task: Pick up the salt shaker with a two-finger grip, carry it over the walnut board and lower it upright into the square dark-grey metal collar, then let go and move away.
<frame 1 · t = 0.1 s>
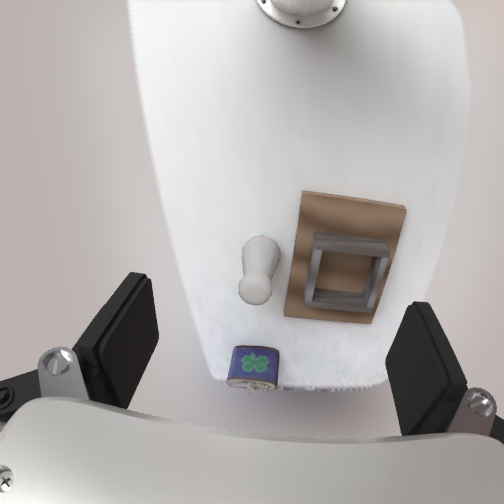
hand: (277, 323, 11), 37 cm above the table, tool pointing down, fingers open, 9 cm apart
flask: (256, 350, 62), on the table
holder board: (341, 262, 51), on the table
salt shaker: (262, 246, 51), on the table
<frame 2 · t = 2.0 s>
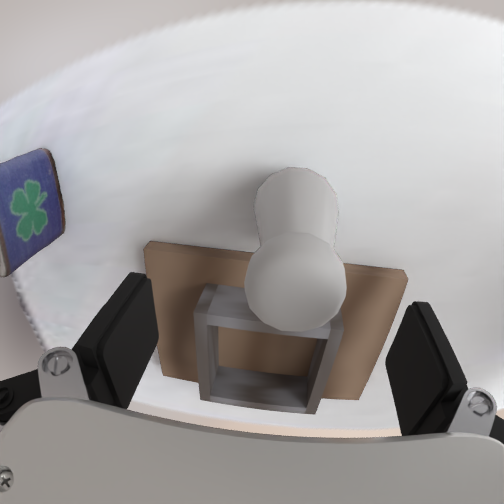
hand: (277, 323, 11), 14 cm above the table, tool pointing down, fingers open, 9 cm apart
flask: (52, 192, 26), on the table
holder board: (268, 329, 30), on the table
salt shaker: (296, 197, 24), on the table
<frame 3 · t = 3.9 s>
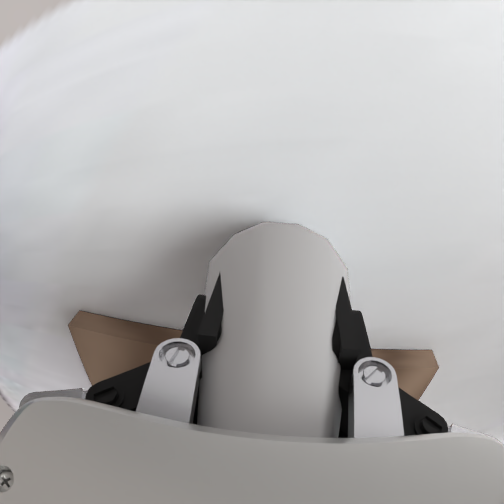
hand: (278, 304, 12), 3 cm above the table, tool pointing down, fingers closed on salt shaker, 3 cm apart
holder board: (245, 416, 21), on the table
salt shaker: (279, 260, 15), on the table, touching gripper
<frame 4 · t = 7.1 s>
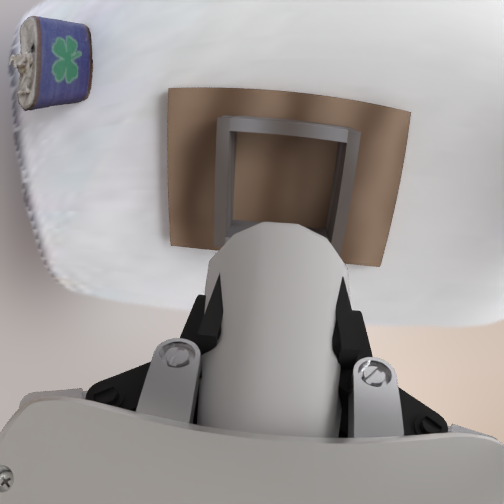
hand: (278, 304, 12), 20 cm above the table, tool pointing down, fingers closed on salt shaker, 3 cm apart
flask: (83, 62, 26), on the table
holder board: (284, 175, 30), on the table
salt shaker: (279, 260, 15), point 17 cm above the table, touching gripper
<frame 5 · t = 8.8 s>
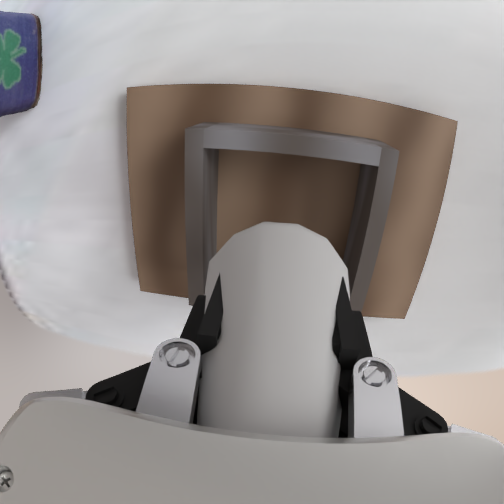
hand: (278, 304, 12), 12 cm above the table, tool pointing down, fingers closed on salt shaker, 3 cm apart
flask: (32, 60, 18), on the table
holder board: (285, 203, 22), on the table
salt shaker: (279, 260, 15), point 8 cm above the table, touching gripper
when the fingers open (7 cm above the table, at t = 10.3 s): salt shaker drops 2 cm, resting on holder board.
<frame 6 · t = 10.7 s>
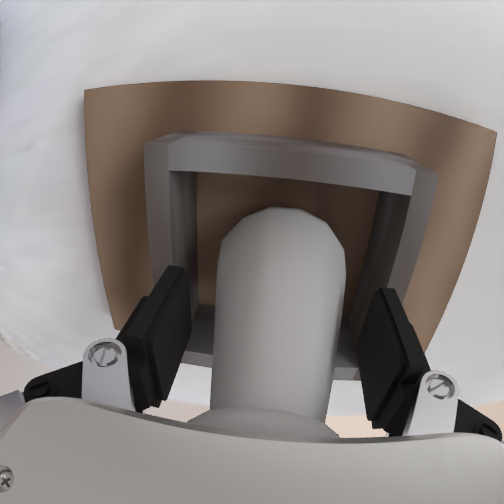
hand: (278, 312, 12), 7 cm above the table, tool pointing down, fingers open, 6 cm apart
holder board: (282, 232, 18), on the table
salt shaker: (284, 241, 17), point 1 cm above the table, touching holder board
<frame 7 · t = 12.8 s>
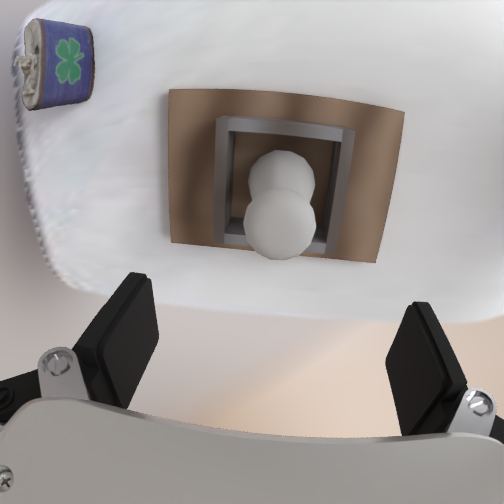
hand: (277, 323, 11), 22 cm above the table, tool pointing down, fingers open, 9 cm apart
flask: (85, 63, 27), on the table
holder board: (281, 173, 31), on the table
salt shaker: (282, 175, 30), point 1 cm above the table, touching holder board
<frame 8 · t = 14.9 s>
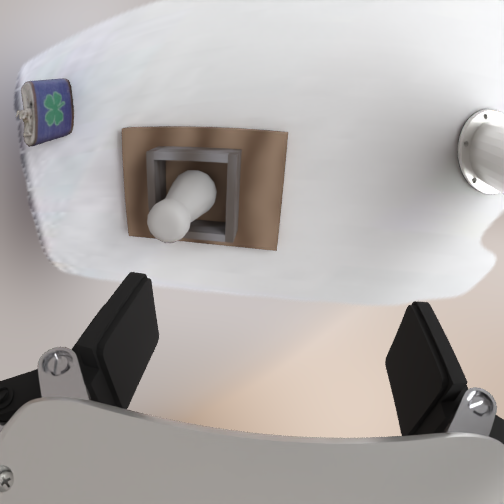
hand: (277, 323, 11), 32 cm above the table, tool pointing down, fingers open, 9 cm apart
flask: (67, 106, 39), on the table
holder board: (200, 185, 43), on the table
salt shaker: (199, 187, 41), point 1 cm above the table, touching holder board
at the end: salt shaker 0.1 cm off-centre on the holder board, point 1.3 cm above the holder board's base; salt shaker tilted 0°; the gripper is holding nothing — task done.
